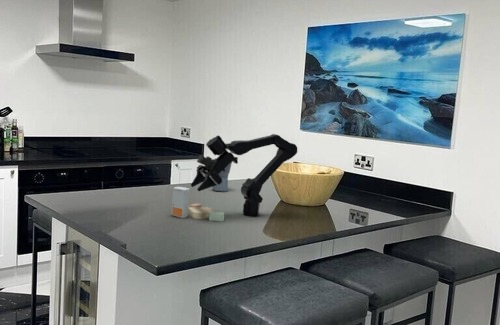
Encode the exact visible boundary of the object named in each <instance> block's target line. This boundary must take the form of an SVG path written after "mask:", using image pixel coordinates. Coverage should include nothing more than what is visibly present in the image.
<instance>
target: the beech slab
mask: <svg viewBox="0 0 500 325" xmlns="http://www.w3.org/2000/svg"><path fill="white" fill-rule="evenodd" d="M209 212H217V211H216V210H214V209H213V208H211V207H210V206H202V207H189V212H188V216H190V217H191V218H192V219H194V220H197V219H198V220H199V219H202V220H203V219H204V220H205V219H209Z"/></svg>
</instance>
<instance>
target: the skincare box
mask: <svg viewBox="0 0 500 325" xmlns="http://www.w3.org/2000/svg"><path fill="white" fill-rule="evenodd" d="M190 196H191V188H188V187H185V186H175V187H173V188H172V198H171V199H172V201H171V216H174V217H178V218H181V219H184V218H187V217H189V214H188V212H189V206H190V199H191V198H190Z"/></svg>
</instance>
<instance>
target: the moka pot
mask: <svg viewBox="0 0 500 325" xmlns="http://www.w3.org/2000/svg"><path fill="white" fill-rule="evenodd" d="M216 158H217V157H216ZM216 158H214V159H216ZM232 163H233V162H232ZM232 163H231V164H229V165H228V166H227V167H226V168H225V171H224V172H223V171H222V172H221V173H220V174H219V176H220V177H221V178H222V183H221V184H220V185H217V184H216V185H217V186H213V187H211V190H212V191H215V192H224V193H225V192H228V191H229V190H228V189H229V188H228V187H229V175H230V171H231V167H232V165H233V164H232Z"/></svg>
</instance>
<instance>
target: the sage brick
mask: <svg viewBox="0 0 500 325" xmlns="http://www.w3.org/2000/svg"><path fill="white" fill-rule="evenodd" d="M224 220H225V214H224V212H222V211H221V212H219V211H216V212H209V218H208V221H210V222H211V221H213V222H215V221H217V222H220V221H221V222H224Z"/></svg>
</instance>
